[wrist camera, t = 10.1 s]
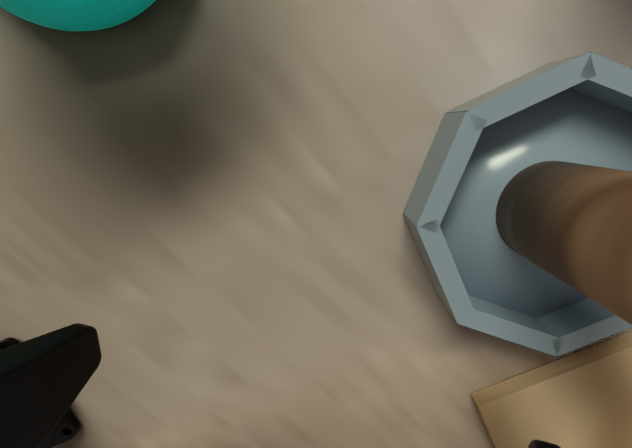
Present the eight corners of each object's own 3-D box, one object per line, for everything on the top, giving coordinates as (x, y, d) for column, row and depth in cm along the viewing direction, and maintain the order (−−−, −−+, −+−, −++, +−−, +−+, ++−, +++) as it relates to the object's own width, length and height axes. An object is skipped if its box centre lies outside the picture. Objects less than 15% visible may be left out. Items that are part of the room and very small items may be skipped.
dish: (463, 353, 21) (484, 385, 18) (374, 146, 18) (383, 149, 16) (689, 262, 19) (744, 282, 17) (629, 25, 17) (684, 7, 14)
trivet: (532, 534, 24) (541, 551, 23) (470, 394, 21) (478, 406, 20) (714, 471, 23) (732, 486, 22) (671, 315, 20) (688, 324, 19)
